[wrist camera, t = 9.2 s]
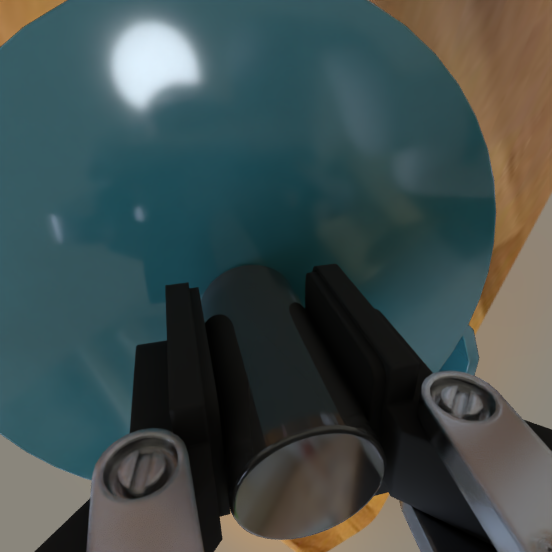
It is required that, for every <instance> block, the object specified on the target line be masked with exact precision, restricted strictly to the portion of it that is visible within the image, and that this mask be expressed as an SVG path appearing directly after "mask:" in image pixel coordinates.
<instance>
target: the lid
mask: <svg viewBox="0 0 552 552" xmlns="http://www.w3.org/2000/svg"><path fill="white" fill-rule="evenodd" d="M495 222H496V201H495V185H494V177H493V172H492V167H491V162H490V157H489V152H488V148H487V145H486V143H485V140H484V137H483V134H482V131H481V129H480V126H479V123H478V120H477V117H476V115H475V113H474V112H473V110H472V108H471V106H470V104H469V102H468V100H467V99H466V97H465V95H464V93H463V91H462V89H461V88H460V86H459V84H458V83H457V81H456V80H455V79H454V78H453V76H452V75H451V74H450V72H449V71H448V70H447V68H446V67H445V66H444V64H443V63H442V62H441V60H440V59H439V58H438V57H437V55H436V54H435V53H434V52H433V51H432V50H431V49H430V48H429V47H428V46H427V45H426V44H425V43H424V42H423V41H421V40H420V39H419V38H418V37H417V36H416V35H415V34H414V33H413V32H412V31H411V30H410V29H409V28H408V27H407V26H406V25H404V24H403V23H401V22H400V21H398V20H397V19H395V18H394V17H392V16H391V15H390V14H388V13H387V12H385V11H384V10H382V9H381V8H379V7H378V6H376V5H375V4H373V3H372V2H370V1H369V0H66V1H65V2H63V3H61V4H60V5H58V6H57V7H55V8H53V9H52V10H50V11H48V12H47V13H45V14H43V15H42V16H40V17H39V18H37V19H35V20H34V21H32V22H30V23H29V24H27V25H25V26H24V27H22V28H21V29H20V30H19V31H18V32H17V33H16V34H14V35H13V36H12V37H11V38H10V39H9V40H8V41H6V42H5V43H4V44H3V45H2V46H1V47H0V434H1V435H2V436H4V437H5V438H7V439H8V440H10V441H11V442H12V443H14V444H15V445H17V446H18V447H20V448H21V449H23V450H24V451H26V452H27V453H29V454H31V455H33V456H35V457H37V458H39V459H41V460H43V461H45V462H46V463H48V464H50V465H52V466H54V467H56V468H59V469H62V470H64V471H67V472H69V473H72V474H74V475H77V476H80V477H82V478H85V479H89V480H92V475H93V472H94V468H95V465H96V463H97V461H98V460H99V458H100V456H101V455H102V453H103V452H104V451H105V450H106V449H107V448H108V447H109V446H110V445H111V444H112V443H113V442H115V441H117V440H118V439H120V438H121V437H123V436H125V435H126V434H129V433H130V421H131V408H132V394H133V380H134V367H135V353H136V346H137V345H140V344H147V343H153V342H160V341H166V340H167V328H166V297H165V285H172V284H180V283H187V282H189V288H195V287H199V293H200V298H201V304H202V310H203V316H204V321H205V327H206V333H207V339H208V345H209V350H210V356H211V362H212V368H213V373H214V379H215V385H216V391H217V397H218V404H219V412H220V421H221V430H222V440H223V449H224V474H225V481H226V487H227V493H228V500H229V506H230V510H231V513H232V515H233V517H234V518H235V520H236V521H237V522H238V524H239V525H240V526H241V527H242V528H243V529H244V530H246V531H248V532H249V533H251V534H254V535H256V536H259V537H263V538H267V539H278V540H285V539H295V538H302V537H306V536H310V535H314V534H317V533H320V532H323V531H325V530H328V529H330V528H332V527H334V526H336V525H338V524H340V523H342V522H344V521H345V520H347V519H348V518H350V517H351V516H353V515H354V514H355V513H357V512H358V511H359V510H361V509H362V508H363V507H364V506H365V505H366V504H367V503H368V502H369V501H370V500H371V499H372V497H373V496H374V495H375V493H376V492H377V491H378V489H379V487H380V486H381V484H382V482H383V479H384V476H385V473H386V465H387V463H386V453H385V450H384V447H383V446H382V444H381V442H380V440H379V439H378V437H377V435H376V433H375V432H374V430H373V428H372V426H371V424H370V423H369V421H368V419H367V417H366V416H365V414H364V412H363V410H362V409H361V407H360V405H359V403H358V402H357V400H356V398H355V396H354V395H353V393H352V391H351V389H350V388H349V386H348V384H347V382H346V381H345V379H344V377H343V375H342V374H341V372H340V370H339V368H338V367H337V365H336V363H335V361H334V359H333V358H332V356H331V354H330V352H329V351H328V349H327V347H326V345H325V344H324V342H323V340H322V338H321V337H320V335H319V333H318V331H317V330H316V328H315V326H314V324H313V323H312V321H311V319H310V317H309V316H308V314H307V312H306V310H305V279H306V274H307V273H310V272H312V270H313V267H314V266H320V265H328V264H337V265H338V266H339V267H340V268H341V269H342V271H343V272H344V273H345V274H346V275H347V277H348V278H349V279H350V280H351V281H352V282H353V284H354V285H355V286H356V287H357V288H358V290H359V291H360V292H361V293H362V294H363V296H364V297H365V298H366V299H367V300H368V302H369V303H370V304H371V305H372V306H373V308H374V309H378V310H379V311H380V312H381V313H382V314H383V315H384V316H385V317H386V318H387V320H388V321H389V322H390V323H391V324H392V325H393V327H394V328H395V329H396V330H397V331H398V332H399V334H400V335H401V336H402V337H403V338H404V339H405V341H406V342H407V343H408V344H409V345H410V347H411V348H412V349H413V350H414V351H415V352H416V354H417V355H418V356H419V357H420V358H421V359H422V361H423V362H424V363H425V364H426V365H427V366H428V368H429V369H430V370H431V371H432V372H433V373H436V372H438V371H439V370H440V369H441V367H442V366H443V364H444V363H445V362H446V360H447V359H448V357H449V356H450V355H451V353H452V352H453V350H454V349H455V347H456V345H457V344H458V342H459V340H460V339H461V337H462V335H463V333H464V332H465V330H466V328H467V326H468V324H469V322H470V320H471V318H472V315H473V313H474V311H475V309H476V306H477V304H478V302H479V300H480V297H481V293H482V290H483V287H484V284H485V281H486V278H487V275H488V271H489V266H490V261H491V256H492V251H493V246H494V237H495Z"/></svg>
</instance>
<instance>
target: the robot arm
mask: <svg viewBox="0 0 552 552" xmlns="http://www.w3.org/2000/svg"><path fill="white" fill-rule="evenodd" d="M165 297H166V328H167V340H166V341H160V342H153V343H147V344H140V345H137V346H136V353H135V367H134V380H133V394H132V408H131V421H130V433H129V434H126V435H125V436H123V437H121V438H120V439H118V440H117V441H115V442H113V443H112V444H111V445H110V446H109V447H108V448H107V449H106V450H105V451H104V452H103V453H102V455H101V456H100V458H99V460H98V461H97V463H96V465H95V468H94V472H93V475H92V483H91V497H90V499H89V500H88V501H87V502H86V503H85V504H84V505H83V506H82V507H81V508H80V509H78V511H76V512H75V513H74V514H73V515H72V516H71V517H70V518H69V519H68V520H67V521H66V522H65V523H64V524H63V525H62V526H61V527H60V528H59V529H58V530H57V531H56V532H55V533H54V534H52V535H51V536H50V537H49V538H48V539H47V540H46V541H45V542H44V543H43V544H42V545H41V546H40V547H39V548H38V549H37V550H36V551H35V552H214V551H215V549H216V548H217V546H218V545H219V543H220V542H221V541H222V532H221V524H220V516H224V515H228V514H230V506H229V500H228V493H227V487H226V481H225V474H224V449H223V440H222V430H221V421H220V412H219V404H218V397H217V391H216V385H215V379H214V373H213V368H212V362H211V356H210V350H209V345H208V339H207V333H206V327H205V321H204V316H203V310H202V304H201V298H200V293H199V287H195V288H189V282H187V283H180V284H172V285H165ZM305 310H306V312H307V314H308V316H309V317H310V319H311V321H312V323H313V324H314V326H315V328H316V330H317V331H318V333H319V335H320V337H321V338H322V340H323V342H324V344H325V345H326V347H327V349H328V351H329V352H330V354H331V356H332V358H333V359H334V361H335V363H336V365H337V367H338V368H339V370H340V372H341V374H342V375H343V377H344V379H345V381H346V382H347V384H348V386H349V388H350V389H351V391H352V393H353V395H354V396H355V398H356V400H357V402H358V403H359V405H360V407H361V409H362V410H363V412H364V414H365V416H366V417H367V419H368V421H369V423H370V424H371V426H372V428H373V430H374V432H375V433H376V435H377V437H378V439H379V440H380V442H381V444H382V446H383V447H384V450H385V453H386V463H387V465H386V473H385V476H384V479H383V482H382V484H381V486H380V487H379V489H378V491H377V492H376V493H375V495H379V494H383V493H387V492H389V494H390V496H392V497H394V498H396V499H398V500H400V506H401V509H402V512H403V514H404V517H405V519H406V521H407V523H408V525H409V527H410V530H411V532H412V533H413V536H414V538H415V541H416V543H417V545H418V547H419V549H420V551H421V552H552V430H551V429H549V428H545V427H543V426H540V425H537V424H534V423H531V422H528V421H526V420H523V419H522V418H521V417H520V416H519V414H518V413H516V411H515V410H514V409H513V408H512V407H511V406H510V404H509V403H508V402H507V401H506V400H505V399H504V398H503V397H502V396H501V395H500V393H499V392H498V391H497V390H495V389H494V388H493V387H492V386H491V385H490V384H489V383H487V382H485V381H484V380H482V379H480V378H478V377H476V376H473V375H470V374H468V373H464V372H459V371H439V372H436V373H433V372H432V371H431V370H430V369H429V368H428V366H427V365H426V364H425V363H424V362H423V361H422V359H421V358H420V357H419V356H418V355H417V354H416V352H415V351H414V350H413V349H412V348H411V347H410V345H409V344H408V343H407V342H406V341H405V339H404V338H403V337H402V336H401V335H400V334H399V332H398V331H397V330H396V329H395V328H394V327H393V325H392V324H391V323H390V322H389V321H388V320H387V318H386V317H385V316H384V315H383V314H382V313H381V312H380V311H379V310H378V309H374V308H373V306H372V305H371V304H370V303H369V302H368V300H367V299H366V298H365V297H364V296H363V294H362V293H361V292H360V291H359V290H358V288H357V287H356V286H355V285H354V284H353V282H352V281H351V280H350V279H349V278H348V277H347V275H346V274H345V273H344V272H343V271H342V269H341V268H340V267H339V266H338V265H337V264H328V265H320V266H314V267H313V270H312V272H310V273H307V274H306V279H305ZM375 495H374V496H375Z"/></svg>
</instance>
